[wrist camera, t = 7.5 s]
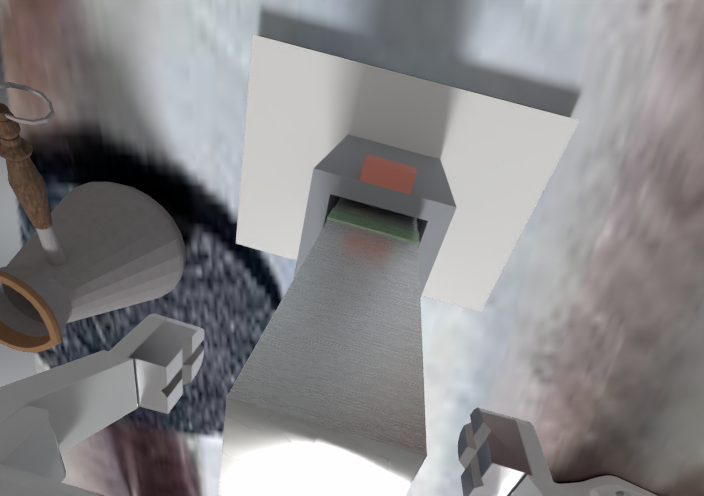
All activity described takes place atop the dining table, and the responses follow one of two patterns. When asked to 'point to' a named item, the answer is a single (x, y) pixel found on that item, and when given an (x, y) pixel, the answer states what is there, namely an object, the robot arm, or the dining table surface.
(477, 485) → the robot arm
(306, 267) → the column
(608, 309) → the dining table surface
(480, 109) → the stand
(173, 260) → the coffee pot
